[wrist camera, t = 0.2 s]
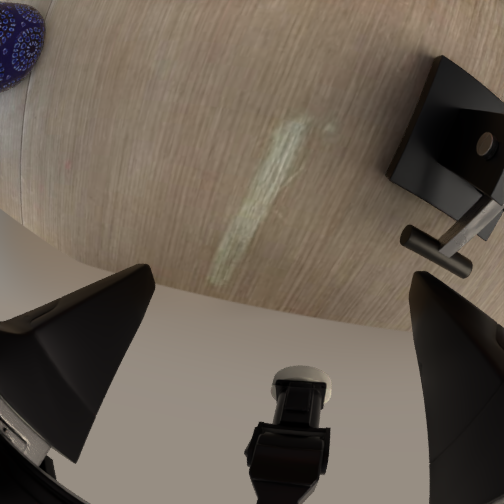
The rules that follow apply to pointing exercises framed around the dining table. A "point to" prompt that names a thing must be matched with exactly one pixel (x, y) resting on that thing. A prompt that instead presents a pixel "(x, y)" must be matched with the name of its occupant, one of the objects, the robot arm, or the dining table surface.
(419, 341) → the robot arm
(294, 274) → the dining table surface
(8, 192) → the dining table surface
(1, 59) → the planter
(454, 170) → the bracket
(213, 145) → the dining table surface
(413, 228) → the lever
